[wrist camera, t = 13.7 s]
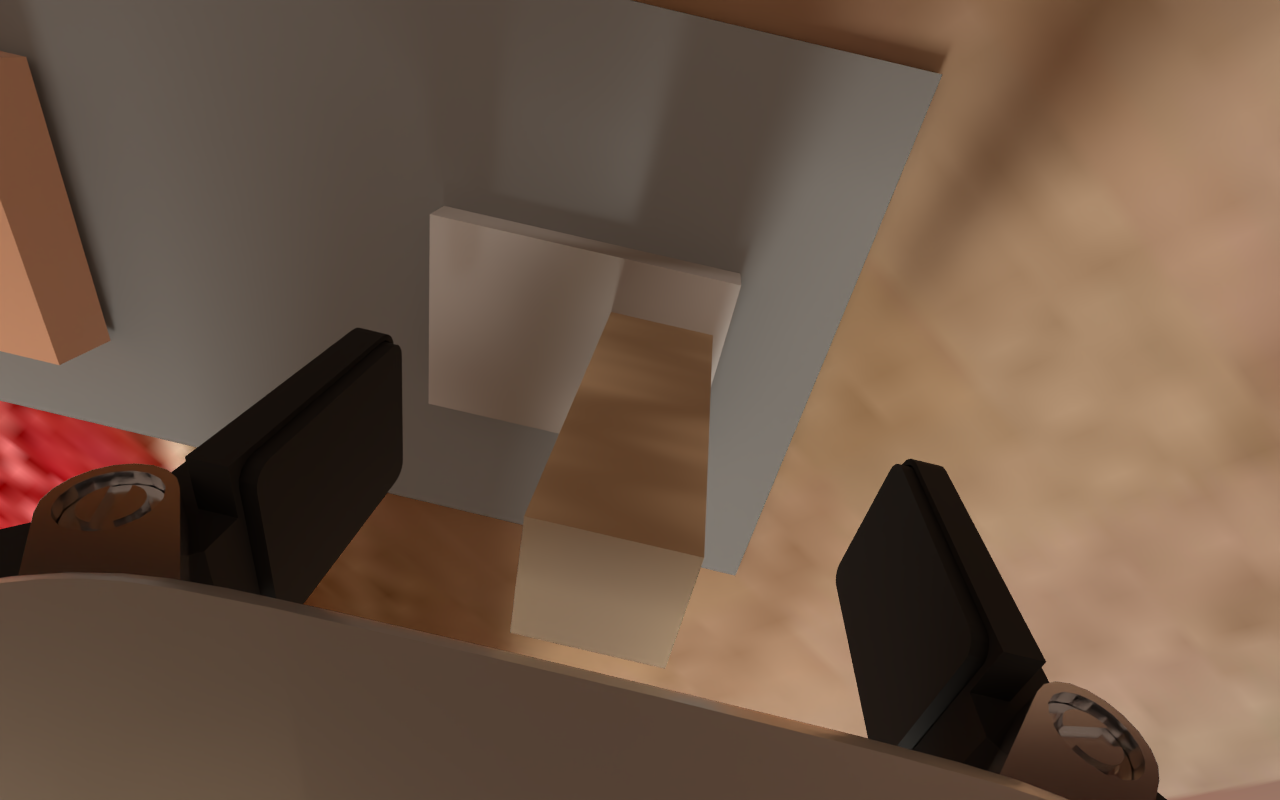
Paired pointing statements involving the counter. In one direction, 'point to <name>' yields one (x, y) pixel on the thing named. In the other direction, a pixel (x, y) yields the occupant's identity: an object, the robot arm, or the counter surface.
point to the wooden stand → (588, 415)
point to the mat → (446, 201)
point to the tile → (39, 236)
